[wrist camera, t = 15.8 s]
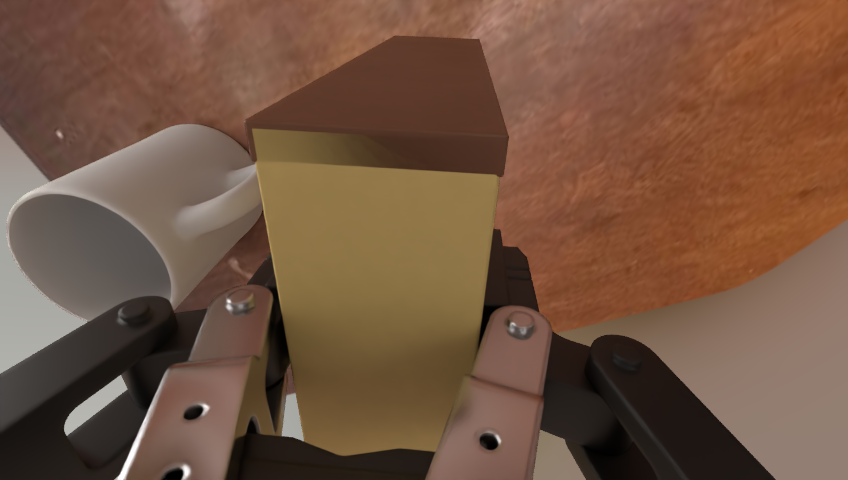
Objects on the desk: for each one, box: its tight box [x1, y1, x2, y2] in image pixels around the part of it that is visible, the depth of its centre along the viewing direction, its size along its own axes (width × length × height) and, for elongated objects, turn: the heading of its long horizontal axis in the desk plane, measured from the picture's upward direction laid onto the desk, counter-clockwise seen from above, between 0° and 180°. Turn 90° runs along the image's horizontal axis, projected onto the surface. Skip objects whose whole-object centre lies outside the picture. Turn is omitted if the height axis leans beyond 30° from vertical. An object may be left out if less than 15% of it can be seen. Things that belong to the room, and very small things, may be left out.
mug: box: [6, 124, 263, 322], centre depth 25 cm, size 12×8×11 cm
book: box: [244, 36, 509, 456], centre depth 16 cm, size 16×4×11 cm
